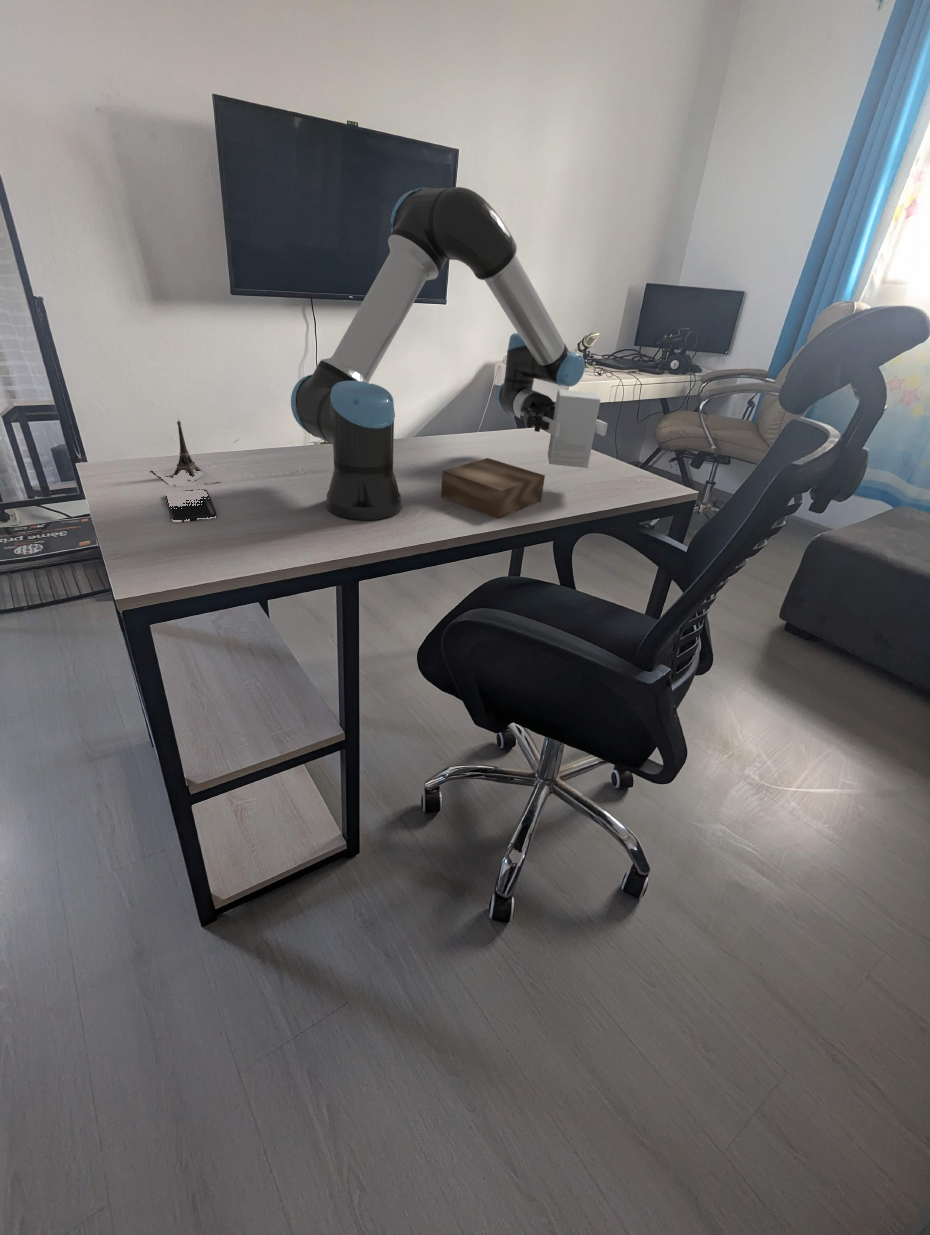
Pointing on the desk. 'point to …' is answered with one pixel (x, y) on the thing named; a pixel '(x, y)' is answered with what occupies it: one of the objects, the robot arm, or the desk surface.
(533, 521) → the desk surface
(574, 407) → the supplement box
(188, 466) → the eiffel tower figurine
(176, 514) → the phone
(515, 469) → the walnut stand
